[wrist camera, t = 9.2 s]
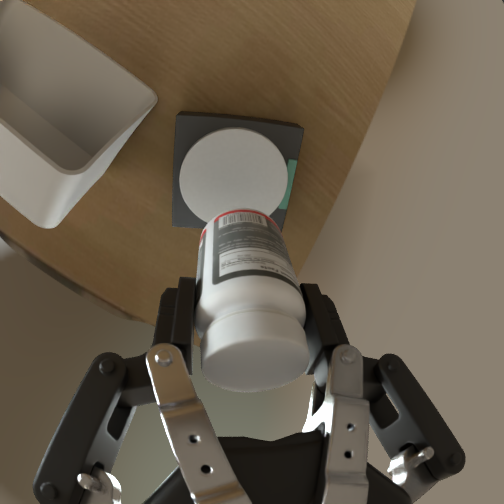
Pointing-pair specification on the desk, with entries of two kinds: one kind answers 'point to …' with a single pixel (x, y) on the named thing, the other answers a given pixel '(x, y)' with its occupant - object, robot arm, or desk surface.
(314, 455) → the robot arm
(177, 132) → the scale
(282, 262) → the pill bottle
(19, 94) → the tank
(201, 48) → the desk surface
